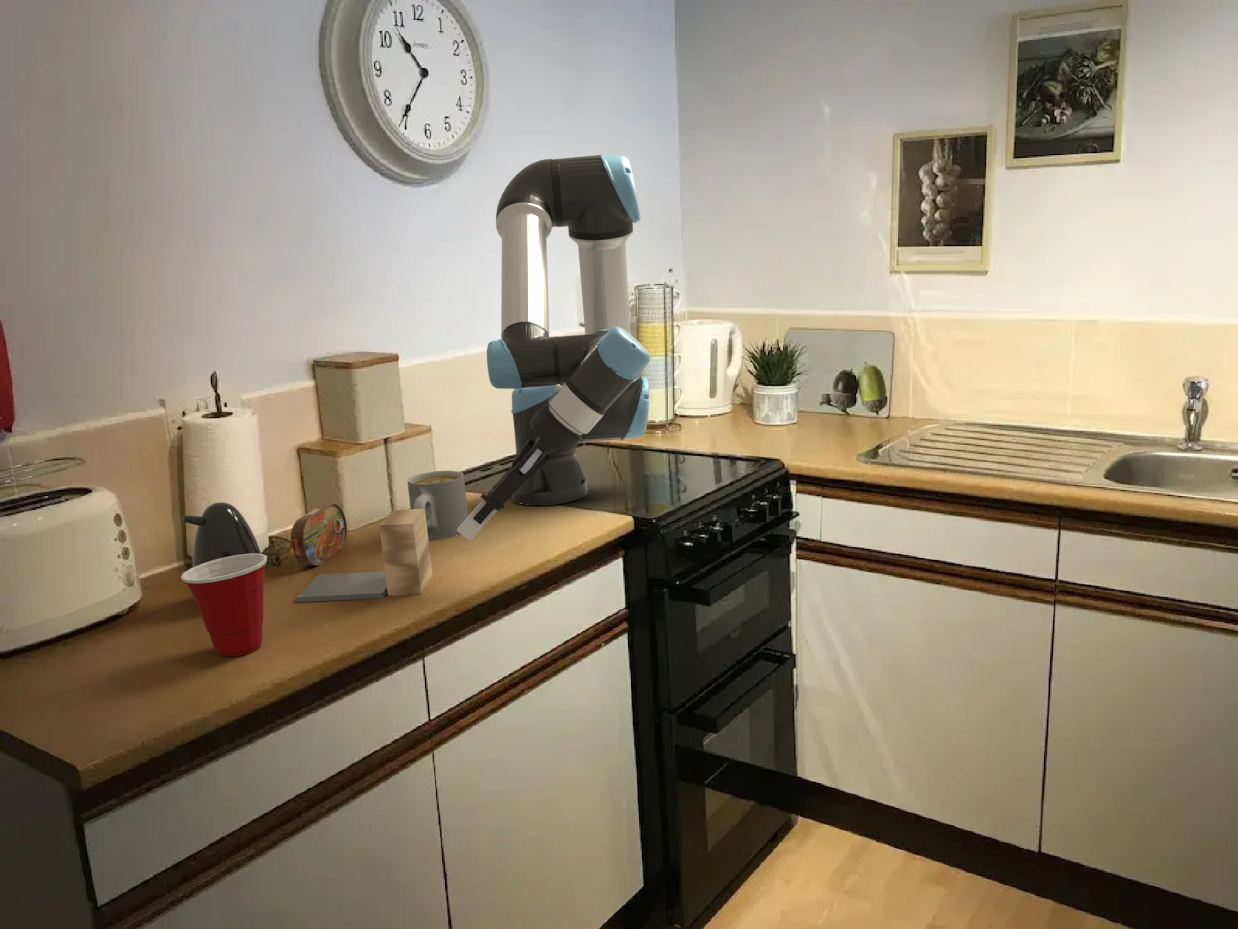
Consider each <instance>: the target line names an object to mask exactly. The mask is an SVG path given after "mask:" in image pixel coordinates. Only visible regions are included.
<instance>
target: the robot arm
mask: <svg viewBox="0 0 1238 929" xmlns="http://www.w3.org/2000/svg"><path fill="white" fill-rule="evenodd" d="M495 214H496V215H495V227H496V231H497V234H498V235H499V237H500V238H501V304H500V305H501V309H500V310H501V320H500V321H501V322H500V323H501V328H500V329H501V332H500V334H501V335H500V336H501V339H497V340H492V341H489V343H488V344H487V347H486V364H487V373H488V378H489V382H490V384H491V386H492V387H494V388H495V389H499V390H500V389H501V390H502V389H503V390H504V389H505V390H506V389H507V390H510V389H511V390H512V393H511V409H510V410H511V411H510V413H511V414H512V418H513V419H512V420H513V428H514V441H515V442H514V443H515V453H516V454H515V455H516V456H515V458H514V460H513V461H512V463H511V466H510V467H509V468H508V469H507V471H505V473H504V474H503V475H502V476H501V477H500V479H499V480H497V482H496V484H493V486H492V488H491V489H490V490H489V491H488V492H487V494H486V493H484V492H482V494H481V496H480V498H481V499H482V500H480V502H479V503H478V504H477V505H476V507H475V508H474V509H473V510H472V511H471V512H470V513H468V517H467V518H466V519H465V520H464V521H463V522H462V524H461V525H460V526H459V527H458V528H457V531H458V532H459V533H461V534H460V535H462V536H463V537H464V538H465V539H466V540H468V541H469V542H472V540H473V539H474V538H475V537H476V536H477V535H478V533H480V531H481V530H482V529H483V528H484V526H486V524H487V523H488V522H489V521H490V520H491V518H493V517H494V515H495V514H496V513H497V512H498V511H500V510H501V509H502V510H504V509H505V508H506V506H507V504H506V502H507V501H508V500H509V499H510V498H511V500H512V502H513V503H515V502H516V503H515V504H518V503H522V504H521V505H523V504H528V505H527V506H533V505H543V506H554V505H562V504H567V503H570V502H574V501H575V502H576V501H578V500H580V499H582V498H585V497H586V496H587V495H588V483H587V479H586V478H585V474H584V472H583V470H582V468H581V465H580V462H579V460H578V458H577V455H576V453H577V452H576V447H577V446H578V445H579V443H587V442H588V443H589V442H604V441H618V440H619V441H625V440H628V439H635V438H640V437H642V436H643V435H644V434H645V433H646V430H647V426H648V420H649V412H650V411H649V409H650V408H649V407H650V399H649V398H650V382H649V379H648V378H646V377H643V376H642V372H643V371H644V369H645V368H646V366H648V364H649V363H650V362H651V354H650V353H649V351H648V350H647V349H646V348H645V346H644V345H643V344H642V343H641V342H640V341H638V339H636V338H635V337H634V336H633V335H632V333H631V316H630V299H629V280H628V279H629V278H628V265H627V264H628V263H627V247H626V245H627V244H626V241H627V240H628V239H629V237H631V235H633V233H634V224H636V223H638V222H640V221H641V212H640V208H639V201H638V196H637V191H636V184H635V181H634V175H633V170H632V165H631V162H630V160H629V159H628V158H627V157H626V156H624V155H620V154H618V155H616V154H615V155H613V154H612V155H610V154H597V155H586V156H575V157H574V156H573V157H564V158H563V157H562V158H546V159H545V158H544V159H540V160H537V161H534V162H532V163H530V164H529V165H527V166H525V167H524V168H522V169H521V170H520V171H519V172H518V173H516V175H515V176H513V178H512V179H511V180H510V181H509V183H508V184H507V185H506V187H505V188H504V190H503V192H502V193H501V196H500V198H499V200H498V203H497V208H496V213H495ZM556 227H557V228H563V227H567V228H568V237H569V239H570V240H572V241H573V242H575V243H576V245H577V249H578V260H579V272H580V273H579V274H580V286H581V297H582V300H581V301H582V311H583V312H582V313H583V322H584V323H583V324H584V334H572V335H561V336H550V317H549V316H550V314H549V283H548V278H549V277H548V252H547V251H548V248H547V247H548V246H547V242H548V241H547V238H548V237H549V236H550V235H551V232H552V228H556Z"/></svg>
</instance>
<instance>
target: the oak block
mask: <svg viewBox="0 0 1238 929" xmlns="http://www.w3.org/2000/svg"><path fill="white" fill-rule="evenodd" d="M378 528H379V535H380V542H381V549H382V557H383V558H382V559H383V567H384V571H385V575H386V583H387V591H388V592H387V595H388V597H389V596H405V595H408V596H409V595H410V596H411V595H422V593H423V591H424V590H425V588H426V587H427V586H428V584H429V582H430V581H431V579H432V577H434V576H433V566H432V559H431V551H430V549H431V548H430V542H429V541H430V540H429V539H428V532H427V523H426V515H425V509H411V508H410V509H396V510H395V509H393V510H392V511H391V512H390V513H389V514H388V515H387V516H386V517H385V518H384V520H382V522H381V523H380V524H379V527H378Z"/></svg>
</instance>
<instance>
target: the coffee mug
mask: <svg viewBox="0 0 1238 929" xmlns="http://www.w3.org/2000/svg"><path fill="white" fill-rule="evenodd" d="M464 476H465V475H464V473H463V472H461V471H459V470H458V471H457V470H456V471H455V470H434V471H427V472H423V473H419V474H416V475H413V476H411V477H409V478H408V479H407V489H408V497H409V507H410V509H425V515H426V523H427V532H428V540H441V539H449V538H453V536H454V537H457V536H456V535H458V536H460V535H462V534H461V533H459V532H458V531H457V528H458V527H459V526H460V525H461V524H462V522H463V521H464V520H465V519H466V518H467V517H468V516H469V513H468V511H469V510H468V504H467V495H466V484H465V477H464ZM459 534H460V535H459Z"/></svg>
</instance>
